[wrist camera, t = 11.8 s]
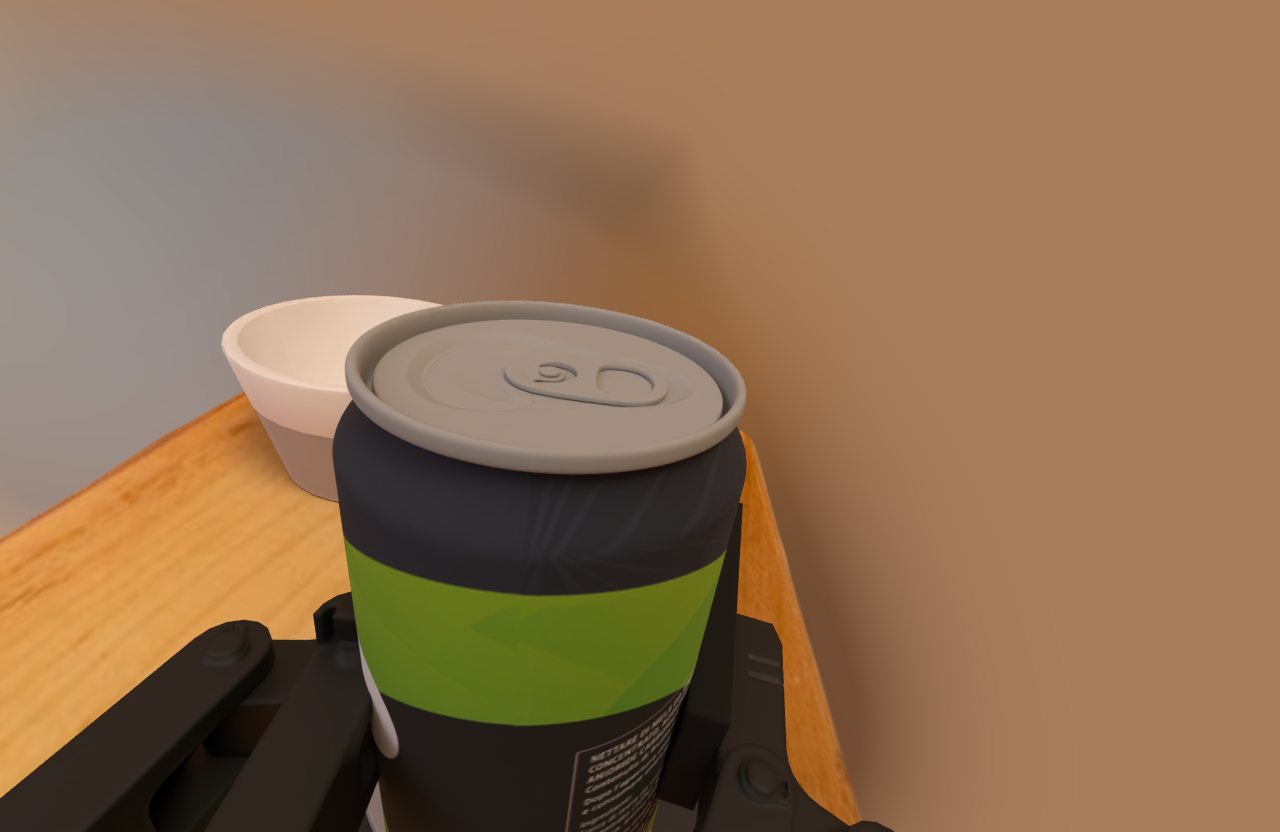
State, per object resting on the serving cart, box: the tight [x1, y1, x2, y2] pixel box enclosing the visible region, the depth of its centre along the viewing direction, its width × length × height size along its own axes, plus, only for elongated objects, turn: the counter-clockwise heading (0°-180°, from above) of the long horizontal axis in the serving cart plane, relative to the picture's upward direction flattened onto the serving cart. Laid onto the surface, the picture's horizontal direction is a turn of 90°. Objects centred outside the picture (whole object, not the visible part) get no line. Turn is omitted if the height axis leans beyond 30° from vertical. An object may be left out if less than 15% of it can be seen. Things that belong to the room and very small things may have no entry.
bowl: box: [221, 295, 443, 502], centre depth 43 cm, size 19×19×11 cm
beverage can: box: [332, 301, 746, 832], centre depth 11 cm, size 6×6×15 cm
